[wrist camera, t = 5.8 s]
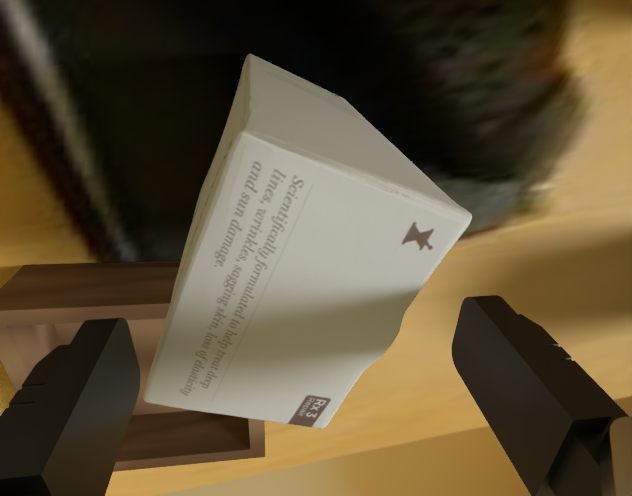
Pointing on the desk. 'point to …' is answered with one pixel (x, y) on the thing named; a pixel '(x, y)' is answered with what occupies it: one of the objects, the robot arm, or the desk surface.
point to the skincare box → (296, 257)
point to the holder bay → (146, 328)
